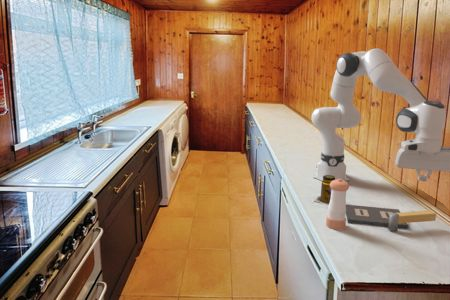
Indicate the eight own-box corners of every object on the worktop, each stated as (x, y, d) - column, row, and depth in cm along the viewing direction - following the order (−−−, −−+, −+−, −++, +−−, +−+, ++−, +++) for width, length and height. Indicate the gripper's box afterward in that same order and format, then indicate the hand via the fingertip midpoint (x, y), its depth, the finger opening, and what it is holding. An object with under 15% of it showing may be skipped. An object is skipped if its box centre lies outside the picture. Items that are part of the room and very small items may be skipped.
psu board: (344, 207, 164) (344, 203, 163) (398, 212, 159) (398, 208, 159) (347, 222, 149) (348, 218, 148) (407, 228, 144) (408, 224, 144)
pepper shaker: (330, 220, 151) (334, 174, 146) (348, 225, 146) (353, 178, 142) (322, 225, 145) (326, 179, 141) (340, 231, 141) (345, 183, 136)
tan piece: (391, 231, 140) (393, 216, 139) (386, 227, 143) (388, 213, 142) (434, 228, 144) (436, 213, 143) (428, 224, 147) (430, 210, 146)
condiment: (332, 205, 166) (334, 179, 163) (313, 201, 170) (315, 176, 167) (336, 200, 172) (338, 175, 169) (318, 196, 176) (320, 172, 173)
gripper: (455, 145, 140) (449, 180, 144) (396, 141, 145) (392, 175, 148) (461, 149, 134) (455, 185, 138) (400, 145, 139) (395, 180, 142)
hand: (422, 180), depth 143 cm, fingers closed
